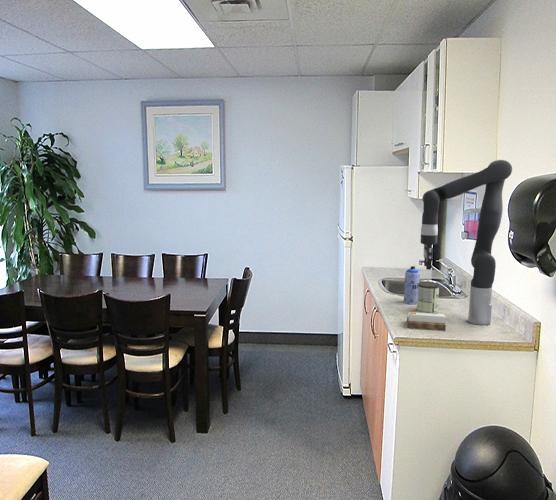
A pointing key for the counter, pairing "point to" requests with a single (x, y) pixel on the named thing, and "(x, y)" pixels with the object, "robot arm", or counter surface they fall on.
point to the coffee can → (427, 297)
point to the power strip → (426, 317)
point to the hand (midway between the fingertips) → (427, 267)
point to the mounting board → (426, 325)
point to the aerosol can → (411, 286)
